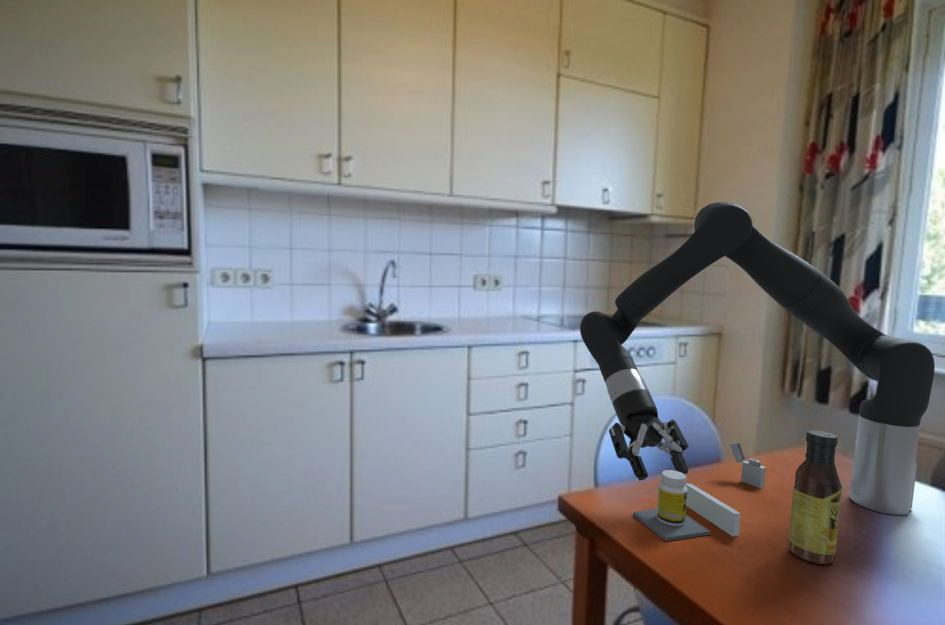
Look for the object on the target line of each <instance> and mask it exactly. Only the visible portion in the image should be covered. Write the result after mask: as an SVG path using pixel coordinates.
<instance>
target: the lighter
mask: <svg viewBox="0 0 945 625" xmlns="http://www.w3.org/2000/svg"><path fill="white" fill-rule="evenodd" d="M729 446H730V448H731V450H732V454H733V456H734V460H735V462H736V464H737V463H742V465H741V466H742V468H741V475H740V476H741V478H740V481H741V483H745V484H747V485H751V486H752V487H755V488H758V489H762V488H764V487H765V484H766V483H765V481H766V471H767V467H766V466H765V465H762V463H761V461H760V460H758V459H755V458H752V457H751V458H749V459H748V460H747V459H746V458H747V457H746V455H745V453H744V451H743V450H744V449H743V448H742V445H741V442H740V441H734V442H733V441H732V442H730V444H729Z"/></svg>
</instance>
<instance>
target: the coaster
mask: <svg viewBox="0 0 945 625" xmlns="http://www.w3.org/2000/svg"><path fill="white" fill-rule="evenodd" d="M656 513H657V508H653V509H646V510H639V511H633V512H632V516H633V517H634V518H636V519H637V520H638V521H640V522H641V523H642V524H643V525H645V526H646V527H647V528H649V529H650V530H651V531H652V532H654V534H656V535H657V536H658V537H660V538H661V539H662V540H663V541H665V542H667V541H668V542H669V541H674V540H675V541H676V540H682V539H688V538H695V537H701V536H710V535H711V530H709V529H708V528H706V527H705V526H703V525H702V524H701V523H700V522H698V521H696V520H695V519H694V518H692V517H691V516H689V515H687V514H686V515H685V523H684V524H683V525H682V526H669V525H666V524H663V523H662V522H660V521H659V520H658V519H657V517H656Z"/></svg>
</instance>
